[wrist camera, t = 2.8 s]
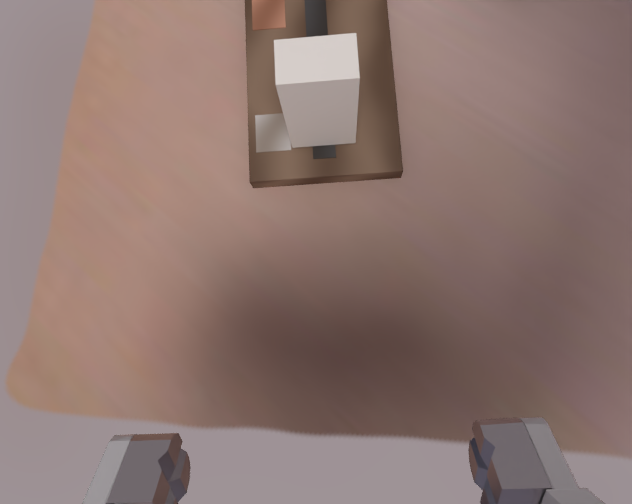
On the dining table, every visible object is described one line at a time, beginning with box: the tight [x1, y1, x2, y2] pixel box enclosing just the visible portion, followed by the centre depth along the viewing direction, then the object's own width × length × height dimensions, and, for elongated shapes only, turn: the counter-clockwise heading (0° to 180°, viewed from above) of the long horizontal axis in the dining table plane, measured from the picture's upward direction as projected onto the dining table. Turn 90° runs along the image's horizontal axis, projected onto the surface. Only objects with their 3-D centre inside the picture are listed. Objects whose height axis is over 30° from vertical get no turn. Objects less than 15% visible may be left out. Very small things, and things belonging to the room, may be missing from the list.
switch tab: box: [274, 33, 360, 148], centre depth 31 cm, size 5×3×9 cm, turn 93°
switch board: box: [245, 0, 403, 188], centre depth 38 cm, size 12×22×2 cm, turn 3°
